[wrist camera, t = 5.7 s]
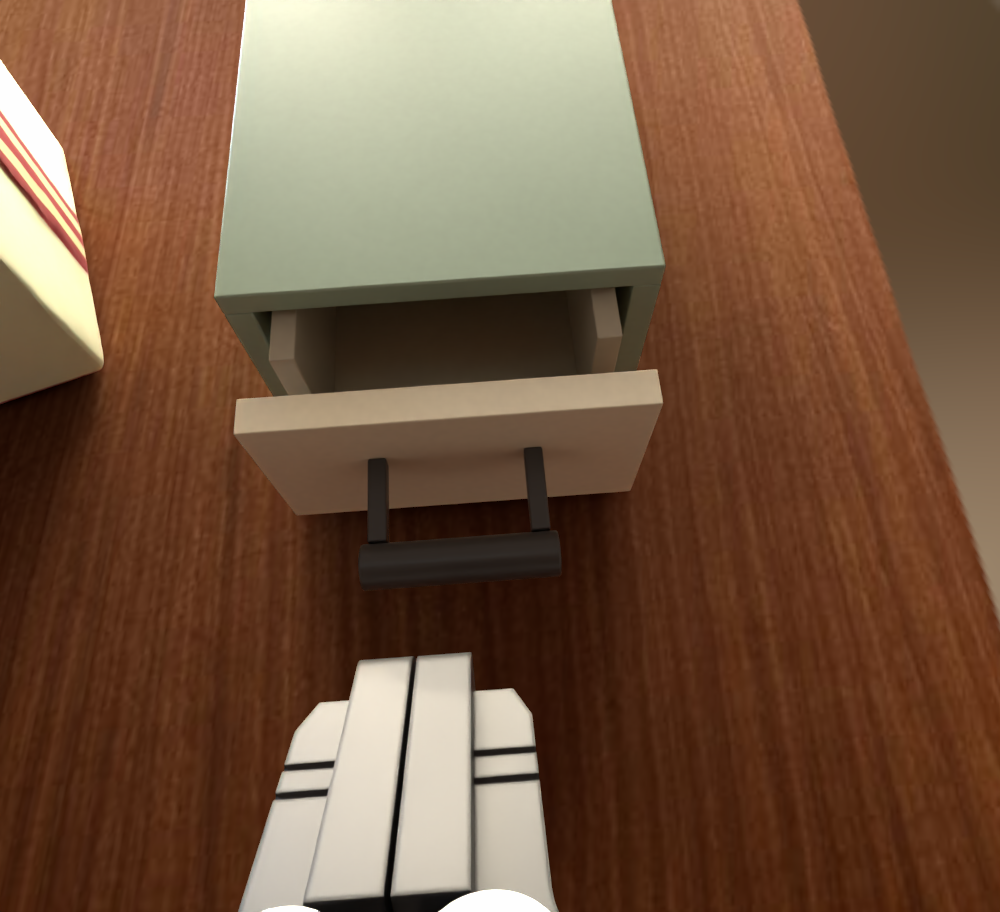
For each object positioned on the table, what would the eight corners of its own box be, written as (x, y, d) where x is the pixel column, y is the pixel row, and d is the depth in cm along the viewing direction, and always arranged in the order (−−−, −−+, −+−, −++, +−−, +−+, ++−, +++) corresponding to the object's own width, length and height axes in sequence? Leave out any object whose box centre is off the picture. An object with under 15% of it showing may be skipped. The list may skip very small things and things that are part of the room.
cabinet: (627, 404, 31) (666, 266, 23) (292, 428, 31) (212, 297, 23) (577, 98, 38) (594, -87, 30) (307, 116, 38) (252, -65, 30)
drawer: (647, 601, 26) (688, 540, 20) (291, 628, 26) (220, 575, 20) (579, 163, 35) (593, 25, 29) (311, 181, 35) (266, 47, 29)
